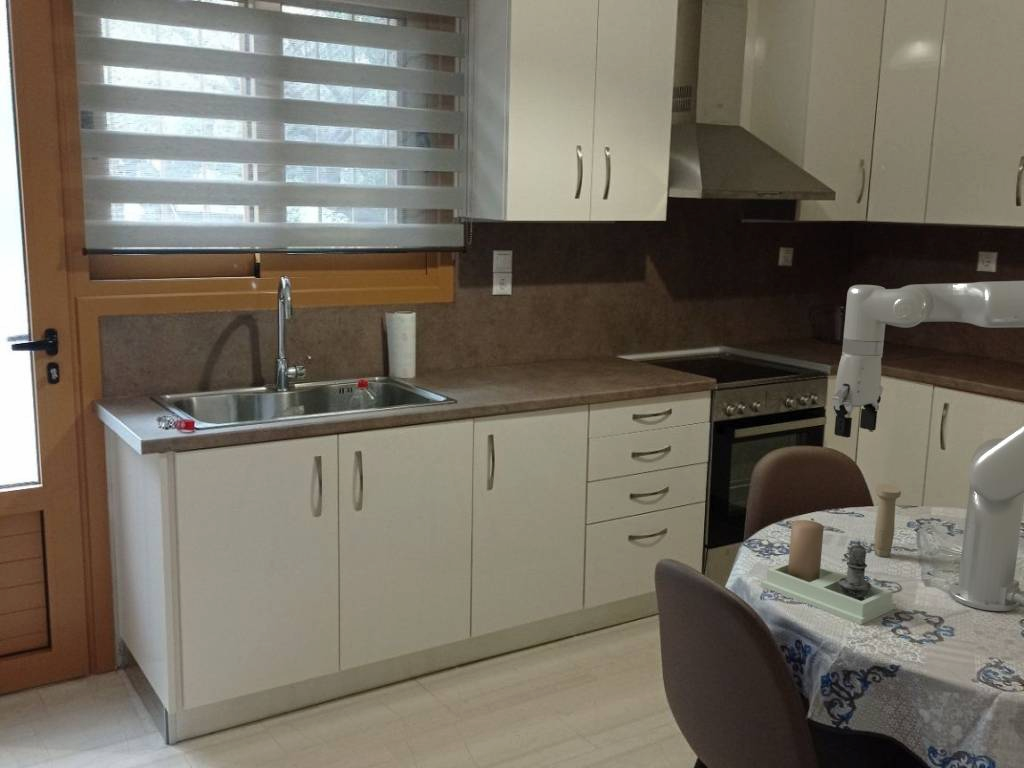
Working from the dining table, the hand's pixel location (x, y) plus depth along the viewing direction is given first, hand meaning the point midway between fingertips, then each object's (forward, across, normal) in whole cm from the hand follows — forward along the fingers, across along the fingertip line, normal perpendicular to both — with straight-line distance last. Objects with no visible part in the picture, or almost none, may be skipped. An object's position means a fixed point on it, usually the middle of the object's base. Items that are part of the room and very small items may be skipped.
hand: (855, 432), depth 199 cm
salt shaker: (+29, +14, +10) cm, 34 cm away
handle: (+30, -16, 0) cm, 34 cm away
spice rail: (+30, +14, +5) cm, 33 cm away
